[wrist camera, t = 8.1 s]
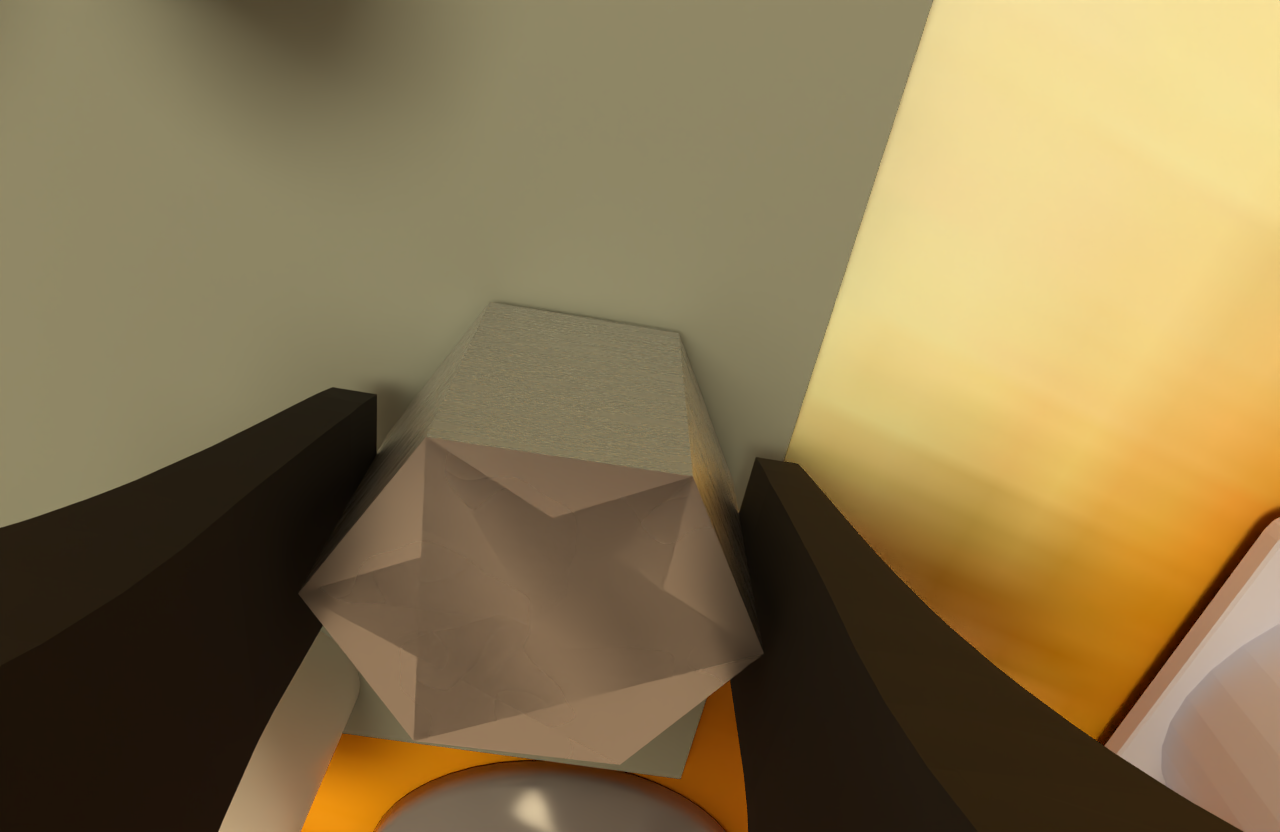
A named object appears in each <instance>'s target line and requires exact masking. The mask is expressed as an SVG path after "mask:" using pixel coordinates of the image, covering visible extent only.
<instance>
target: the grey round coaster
mask: <svg viewBox="0 0 1280 832" xmlns="http://www.w3.org/2000/svg"><path fill="white" fill-rule="evenodd" d="M373 832H726V831H725V830H724V829H723V828H722V827H721V826H720V825H719V824H718V822H717V821H716V820H715V819H713V818H712V817H711V816H710V815H708V814H707V813H706V812H705V811H704V810H702V809H701V808H700V807H699V806H697V805H695V804H694V803H692V802H691V801H689V800H688V799H686V798H684V797H683V796H681V795H679V794H677V793H675V792H673V791H671V790H669V789H667V788H665V787H663V786H661V785H659V784H656V783H653V782H651V781H648V780H645V779H643V778H640V777H637V776H634V775H630V774H627V773H623V772H619V771H616V770H610V769H603V768H595V767H588V766H580V765H573V764H566V763H558V762H551V761H521V762H508V763H498V764H492V765H486V766H480V767H474V768H470V769H467V770H463V771H459V772H456V773H452V774H449V775H446V776H444V777H441V778H439V779H436V780H434V781H431V782H429V783H427V784H425V785H423V786H421V787H419V788H418V789H416V790H414V791H412V792H410V793H409V794H407V795H406V796H405V797H403V798H402V799H401V800H399V801H398V802H397V803H395V804H394V805H393V806H392V807H391V808H390V809H389V810H388V812H387V813H386V814H385V815H384V816H383V817H382V818H381V820H380V821H379V823H378V825H377V826H376V828H375V829H374V831H373Z"/></svg>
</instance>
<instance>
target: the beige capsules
mask: <svg viewBox="0 0 1280 832" xmlns="http://www.w3.org/2000/svg"><path fill="white" fill-rule="evenodd" d="M359 689H360V680H359V675H358V671H357V669H356V667H355V666H354V664H353V663H352V662H351V660H350V659H349V658H348V657H347V655H346V654H345V653H344V651H343V650H342V649H341V648H340V646H339V645H338V644H337V643H336V642H335V641H334V640H333V639H332V638H330V637H329V636H327V635H326V634H324V633H323V632H321V631H320V632H319V633H318V635H317V637H316V639H315V640H314V642H313V644H312V646H311V647H310V649H309V651H308V652H307V654H306V656H305V658H304V659H303V661H302V663H301V665H300V666H299V668H298V670H297V672H296V673H295V675H294V677H293V679H292V680H291V682H290V684H289V686H288V687H287V689H286V691H285V693H284V694H283V696H282V698H281V700H280V701H279V703H278V705H277V707H276V708H275V710H274V712H273V714H272V716H271V718H270V720H269V722H268V724H267V726H266V727H265V729H264V731H263V733H262V735H261V737H260V739H259V741H258V743H257V745H256V747H255V750H254V752H253V754H252V756H251V759H250V761H249V763H248V765H247V768H246V770H245V772H244V774H243V777H242V779H241V781H240V783H239V786H238V788H237V790H236V792H235V795H234V797H233V799H232V801H231V804H230V806H229V808H228V810H227V813H226V815H225V817H224V820H223V822H222V824H221V827H220V829H219V831H218V832H301V829H302V827H303V824H304V822H305V820H306V817H307V815H308V813H309V810H310V808H311V806H312V803H313V801H314V799H315V796H316V794H317V792H318V789H319V787H320V784H321V782H322V780H323V777H324V775H325V773H326V770H327V768H328V766H329V763H330V761H331V759H332V756H333V754H334V752H335V749H336V747H337V744H338V742H339V740H340V737H341V735H342V733H343V730H344V728H345V726H346V723H347V721H348V719H349V716H350V714H351V712H352V709H353V707H354V704H355V702H356V700H357V697H358V694H359Z"/></svg>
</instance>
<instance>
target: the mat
mask: <svg viewBox="0 0 1280 832" xmlns="http://www.w3.org/2000/svg"><path fill="white" fill-rule="evenodd" d="M932 2H933V0H0V528H1V527H5V526H8V525H11V524H15V523H18V522H22V521H25V520H28V519H31V518H34V517H37V516H40V515H43V514H46V513H49V512H51V511H54V510H57V509H60V508H63V507H66V506H68V505H71V504H74V503H77V502H80V501H83V500H85V499H88V498H91V497H94V496H96V495H99V494H102V493H104V492H107V491H109V490H112V489H115V488H117V487H120V486H122V485H125V484H127V483H130V482H132V481H135V480H137V479H139V478H142V477H144V476H146V475H148V474H151V473H153V472H155V471H157V470H160V469H162V468H164V467H166V466H168V465H171V464H173V463H175V462H177V461H180V460H182V459H184V458H186V457H189V456H191V455H193V454H195V453H198V452H200V451H202V450H204V449H207V448H209V447H211V446H213V445H215V444H217V443H219V442H221V441H223V440H225V439H227V438H229V437H231V436H233V435H235V434H237V433H239V432H241V431H243V430H245V429H248V428H250V427H252V426H254V425H256V424H258V423H260V422H262V421H264V420H266V419H268V418H270V417H271V416H273V415H275V414H277V413H279V412H281V411H283V410H285V409H287V408H289V407H291V406H293V405H295V404H297V403H299V402H301V401H303V400H305V399H307V398H309V397H311V396H313V395H315V394H317V393H320V392H322V391H324V390H327V389H329V388H332V387H335V388H341V389H347V390H353V391H359V392H365V393H371V394H377V452H378V450H379V448H380V447H381V445H382V443H383V441H384V440H385V438H386V436H387V434H388V432H389V431H390V429H391V427H392V426H393V425H394V424H395V422H396V421H397V420H398V419H399V417H400V416H401V415H402V413H403V412H404V411H405V410H406V408H407V407H408V406H409V405H410V403H411V402H412V401H413V399H414V398H415V397H416V396H417V394H418V393H419V392H420V391H421V389H422V388H423V387H424V385H425V384H426V383H427V382H428V380H429V379H430V378H431V377H432V375H433V374H434V373H435V371H436V370H437V369H438V368H439V366H440V365H441V364H442V362H443V361H444V360H445V359H446V357H447V356H448V355H449V354H450V352H451V351H452V350H453V348H454V347H455V346H456V345H457V343H458V342H459V341H460V340H461V338H462V337H463V336H464V334H465V333H466V332H467V331H468V329H469V328H470V327H471V326H472V324H473V323H474V322H475V320H476V319H477V318H478V317H479V315H480V314H481V313H482V311H483V310H484V309H485V308H486V306H487V305H488V304H489V303H490V302H494V303H500V304H506V305H512V306H518V307H524V308H530V309H537V310H543V311H549V312H555V313H561V314H567V315H573V316H580V317H586V318H592V319H598V320H604V321H610V322H616V323H622V324H629V325H635V326H641V327H647V328H653V329H659V330H665V331H671V332H678V333H679V335H680V338H681V341H682V343H683V346H684V349H685V351H686V354H687V357H688V360H689V362H690V365H691V368H692V370H693V373H694V376H695V378H696V381H697V384H698V387H699V389H700V392H701V395H702V397H703V400H704V403H705V406H706V408H707V411H708V414H709V416H710V419H711V422H712V424H713V427H714V430H715V433H716V435H717V438H718V441H719V443H720V446H721V449H722V452H723V454H724V457H725V460H726V462H727V465H728V468H729V471H730V473H731V476H732V479H733V484H734V489H735V495H736V500H737V506H738V512H739V511H740V508H741V504H742V501H743V498H744V494H745V491H746V488H747V484H748V481H749V478H750V474H751V471H752V468H753V465H754V461H755V458H756V457H759V458H765V459H771V460H777V461H784V458H785V455H786V452H787V449H788V446H789V443H790V440H791V437H792V434H793V431H794V428H795V424H796V421H797V418H798V415H799V412H800V409H801V406H802V403H803V400H804V397H805V394H806V391H807V387H808V384H809V381H810V378H811V375H812V372H813V369H814V366H815V363H816V360H817V357H818V354H819V350H820V347H821V344H822V341H823V338H824V335H825V332H826V329H827V326H828V323H829V320H830V317H831V314H832V310H833V307H834V304H835V301H836V298H837V295H838V292H839V289H840V286H841V283H842V280H843V277H844V273H845V270H846V267H847V264H848V261H849V258H850V255H851V252H852V249H853V246H854V243H855V240H856V236H857V233H858V230H859V227H860V224H861V221H862V218H863V215H864V212H865V209H866V206H867V203H868V199H869V196H870V193H871V190H872V187H873V184H874V181H875V178H876V175H877V172H878V169H879V166H880V162H881V159H882V156H883V153H884V150H885V147H886V144H887V141H888V138H889V135H890V132H891V129H892V126H893V122H894V119H895V116H896V113H897V110H898V107H899V104H900V101H901V98H902V95H903V92H904V89H905V85H906V82H907V79H908V76H909V73H910V70H911V67H912V64H913V61H914V58H915V55H916V52H917V48H918V45H919V42H920V39H921V36H922V33H923V30H924V27H925V24H926V21H927V18H928V15H929V11H930V8H931V5H932ZM320 631H321V632H323V633H324V634H326V635H327V636H329V637H330V638H332V639H333V637H332V636H331V635H330V634H329V632H328V631H327V630H326V628H325V627H324V626H322V628H321V630H320ZM333 640H334V639H333ZM334 641H335V640H334ZM335 642H336V641H335ZM356 669H357V668H356ZM357 671H358V669H357ZM358 675H359V680H360V689H359V694H358V697H357V700H356V702H355V704H354V707H353V709H352V712H351V714H350V716H349V719H348V721H347V723H346V726H345V728H344V730H343V733H344V734H352V735H359V736H366V737H374V738H381V739H388V740H396V741H403V742H411V743H418V744H425V745H433V746H440V747H448V748H455V749H462V750H470V751H477V752H484V753H492V754H499V755H507V756H514V757H521V758H529V759H536V760H543V761H551V762H558V763H566V764H573V765H580V766H588V767H595V768H603V769H610V770H617V771H625V772H632V773H639V774H647V775H654V776H662V777H669V778H676V779H681V776H682V773H683V770H684V767H685V763H686V760H687V757H688V754H689V751H690V748H691V745H692V742H693V739H694V736H695V733H696V730H697V726H698V723H699V720H700V717H701V714H702V711H703V708H704V705H705V702H706V699H707V698H706V699H704V700H703V701H702V702H701V703H699V704H698V705H697V706H695V707H694V708H693V709H691V710H690V711H689V712H688V713H686V714H685V715H684V716H682V717H681V718H680V719H679V720H677V721H676V722H675V723H673V724H672V725H671V726H670V727H668V728H667V729H666V730H664V731H663V732H662V733H660V734H659V735H658V736H657V737H655V738H654V739H653V740H651V741H650V742H649V743H648V744H646V745H645V746H644V747H642V748H641V749H640V750H638V751H637V752H636V753H635V754H633V755H632V756H631V757H629V758H628V759H627V760H626V761H624V762H623V763H622V764H620V765H617V764H608V763H599V762H591V761H582V760H573V759H565V758H556V757H547V756H538V755H530V754H521V753H512V752H504V751H495V750H486V749H478V748H469V747H460V746H451V745H443V744H434V743H425V742H417V741H413V740H412V738H411V737H410V736H409V735H408V733H407V732H406V731H405V729H404V728H403V727H402V726H401V724H400V723H399V722H398V721H397V719H396V718H395V717H394V715H393V714H392V713H391V712H390V710H389V709H388V708H387V706H386V705H385V704H384V703H383V701H382V700H381V699H380V698H379V696H378V695H377V694H376V692H375V691H374V690H373V689H372V687H371V686H370V685H369V683H368V682H367V681H366V680H365V678H364V677H363V676H362V675H361V673H360V672H359V671H358Z"/></svg>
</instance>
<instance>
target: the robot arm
mask: <svg viewBox="0 0 1280 832" xmlns="http://www.w3.org/2000/svg"><path fill="white" fill-rule="evenodd" d="M376 455H377V394H371V393H365V392H359V391H353V390H347V389H341V388H335V387H332V388H329V389H327V390H324V391H322V392H320V393H317V394H315V395H313V396H311V397H309V398H307V399H305V400H303V401H301V402H299V403H297V404H295V405H293V406H291V407H289V408H287V409H285V410H283V411H281V412H279V413H277V414H275V415H273V416H271V417H270V418H268V419H266V420H264V421H262V422H260V423H258V424H256V425H254V426H252V427H250V428H248V429H245V430H243V431H241V432H239V433H237V434H235V435H233V436H231V437H229V438H227V439H225V440H223V441H221V442H219V443H217V444H215V445H213V446H211V447H209V448H207V449H204V450H202V451H200V452H198V453H195V454H193V455H191V456H189V457H186V458H184V459H182V460H180V461H177V462H175V463H173V464H171V465H168V466H166V467H164V468H162V469H160V470H157V471H155V472H153V473H151V474H148V475H146V476H144V477H142V478H139V479H137V480H135V481H132V482H130V483H127V484H125V485H122V486H120V487H117V488H115V489H112V490H109V491H107V492H104V493H102V494H99V495H96V496H94V497H91V498H88V499H85V500H83V501H80V502H77V503H74V504H71V505H68V506H66V507H63V508H60V509H57V510H54V511H51V512H49V513H46V514H43V515H40V516H37V517H34V518H31V519H28V520H25V521H22V522H18V523H15V524H11V525H8V526H5V527H1V528H0V832H218V831H219V829H220V827H221V824H222V822H223V820H224V817H225V815H226V813H227V810H228V808H229V806H230V804H231V801H232V799H233V797H234V795H235V792H236V790H237V788H238V786H239V783H240V781H241V779H242V777H243V774H244V772H245V770H246V768H247V765H248V763H249V761H250V759H251V756H252V754H253V752H254V750H255V747H256V745H257V743H258V741H259V739H260V737H261V735H262V733H263V731H264V729H265V727H266V726H267V724H268V722H269V720H270V718H271V716H272V714H273V712H274V710H275V708H276V707H277V705H278V703H279V701H280V700H281V698H282V696H283V694H284V693H285V691H286V689H287V687H288V686H289V684H290V682H291V680H292V679H293V677H294V675H295V673H296V672H297V670H298V668H299V666H300V665H301V663H302V661H303V659H304V658H305V656H306V654H307V652H308V651H309V649H310V647H311V646H312V644H313V642H314V640H315V639H316V637H317V635H318V633H319V632H320V630H321V628H322V626H323V625H322V623H321V622H320V621H319V620H318V618H317V617H316V616H315V614H314V613H313V612H312V611H311V609H310V608H309V607H308V605H307V604H306V603H305V602H304V600H303V599H302V598H301V597H300V595H299V594H298V593H299V591H300V589H301V587H302V586H303V584H304V582H305V580H306V579H307V577H308V575H309V573H310V571H311V570H312V568H313V566H314V564H315V562H316V561H317V559H318V557H319V555H320V554H321V552H322V550H323V548H324V546H325V545H326V543H327V541H328V539H329V538H330V536H331V534H332V532H333V530H334V529H335V527H336V525H337V523H338V521H339V520H340V518H341V516H342V514H343V513H344V511H345V509H346V507H347V505H348V504H349V502H350V500H351V498H352V497H353V495H354V493H355V491H356V489H357V488H358V486H359V484H360V483H361V481H362V479H363V477H364V476H365V474H366V472H367V470H368V469H369V467H370V465H371V463H372V462H373V460H374V458H375V456H376ZM739 517H740V523H741V529H742V535H743V541H744V547H745V553H746V559H747V564H748V569H749V573H750V579H751V585H752V590H753V596H754V602H755V607H756V613H757V618H758V624H759V630H760V635H761V641H762V646H763V652H764V654H763V655H761V656H760V657H759V658H757V659H756V660H755V661H754V662H752V663H751V664H750V665H748V666H747V667H746V668H744V669H743V670H742V671H741V672H739V673H738V674H737V675H735V676H734V677H733V678H732V679H730V682H731V689H732V696H733V703H734V710H735V717H736V723H737V730H738V737H739V744H740V751H741V758H742V765H743V772H744V781H745V790H746V800H747V812H748V832H1280V517H1278V518H1276V519H1275V520H1273V521H1272V522H1271V523H1270V524H1269V525H1268V526H1267V527H1266V528H1265V529H1264V530H1263V532H1262V533H1261V535H1260V536H1259V537H1258V539H1257V540H1256V541H1255V543H1254V544H1253V545H1252V547H1251V548H1250V549H1249V551H1248V552H1247V553H1246V555H1245V556H1244V558H1243V559H1242V560H1241V562H1240V563H1239V564H1238V566H1237V567H1236V568H1235V570H1234V571H1233V572H1232V574H1231V575H1230V577H1229V578H1228V579H1227V581H1226V582H1225V583H1224V585H1223V586H1222V587H1221V589H1220V590H1219V591H1218V593H1217V594H1216V595H1215V597H1214V598H1213V600H1212V601H1211V602H1210V604H1209V605H1208V606H1207V608H1206V609H1205V610H1204V612H1203V613H1202V614H1201V616H1200V617H1199V618H1198V620H1197V621H1196V623H1195V624H1194V625H1193V627H1192V628H1191V629H1190V631H1189V632H1188V633H1187V635H1186V636H1185V637H1184V639H1183V640H1182V641H1181V643H1180V644H1179V646H1178V647H1177V648H1176V650H1175V651H1174V652H1173V654H1172V655H1171V656H1170V658H1169V659H1168V660H1167V662H1166V663H1165V664H1164V666H1163V667H1162V669H1161V670H1160V671H1159V673H1158V674H1157V675H1156V677H1155V678H1154V679H1153V681H1152V682H1151V683H1150V685H1149V686H1148V688H1147V689H1146V690H1145V692H1144V693H1143V694H1142V696H1141V697H1140V698H1139V700H1138V701H1137V702H1136V704H1135V705H1134V706H1133V708H1132V709H1131V711H1130V712H1129V713H1128V715H1127V716H1126V717H1125V719H1124V720H1123V721H1122V723H1121V724H1120V725H1119V727H1118V728H1117V729H1116V731H1115V732H1114V734H1113V735H1112V736H1111V738H1110V739H1109V740H1108V742H1107V743H1106V744H1105V746H1103V745H1102V744H1100V743H1099V742H1097V741H1096V740H1095V739H1093V738H1092V737H1090V736H1089V735H1087V734H1086V733H1084V732H1083V731H1081V730H1080V729H1078V728H1077V727H1076V726H1074V725H1073V724H1071V723H1070V722H1069V721H1067V720H1066V719H1065V718H1063V717H1062V716H1061V715H1059V714H1058V713H1056V712H1055V711H1054V710H1052V709H1051V708H1050V707H1048V706H1047V705H1046V704H1044V703H1043V702H1042V701H1040V700H1039V699H1038V698H1036V697H1035V696H1033V695H1032V694H1031V693H1029V692H1028V691H1027V690H1025V689H1024V688H1023V687H1021V686H1020V685H1019V684H1017V683H1016V682H1015V681H1014V680H1012V679H1011V678H1010V677H1009V676H1007V675H1006V674H1005V673H1004V672H1002V671H1001V670H1000V669H999V668H997V667H996V666H995V665H994V664H992V663H991V662H990V661H989V660H988V659H987V658H985V657H984V656H983V655H982V654H981V653H980V652H978V651H977V650H976V649H975V648H974V647H973V646H971V645H970V644H969V643H968V642H967V641H966V640H964V639H963V638H962V637H961V636H960V635H959V634H957V633H956V632H955V631H954V630H953V629H952V628H950V627H949V626H948V625H947V624H946V623H945V622H944V621H943V620H942V619H941V618H940V617H939V616H937V615H936V614H935V613H934V612H933V611H932V610H931V609H930V608H929V607H928V606H927V605H926V604H925V603H924V602H923V601H922V600H921V599H920V598H919V597H918V596H917V595H916V594H915V593H914V592H913V591H912V590H911V589H910V588H909V587H908V586H907V585H906V584H905V583H904V582H903V581H902V580H901V579H900V578H899V577H898V576H897V575H896V574H895V573H894V572H893V571H892V570H891V569H890V568H889V567H888V566H887V564H886V563H885V562H884V561H883V560H882V559H881V558H880V557H879V556H878V555H877V554H876V553H875V552H874V550H873V549H872V548H871V547H870V546H869V545H868V544H867V543H866V542H865V540H864V539H863V538H862V537H861V536H860V535H859V534H858V533H857V531H856V530H855V529H854V528H853V527H852V526H851V524H850V523H849V522H848V521H847V520H846V519H845V518H844V516H843V515H842V514H841V513H840V512H839V510H838V509H837V508H836V507H835V506H834V505H833V503H832V502H831V501H830V500H829V499H828V498H827V496H826V495H825V494H824V493H823V492H822V490H821V489H820V488H819V487H818V486H817V485H816V483H815V482H814V481H813V480H812V479H811V478H810V477H809V475H808V474H807V473H806V472H805V471H804V470H803V469H802V468H801V467H800V466H799V465H798V464H795V463H789V462H783V461H777V460H771V459H765V458H759V457H756V458H755V461H754V465H753V468H752V471H751V474H750V478H749V481H748V484H747V488H746V491H745V494H744V498H743V501H742V504H741V508H740V511H739Z"/></svg>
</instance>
